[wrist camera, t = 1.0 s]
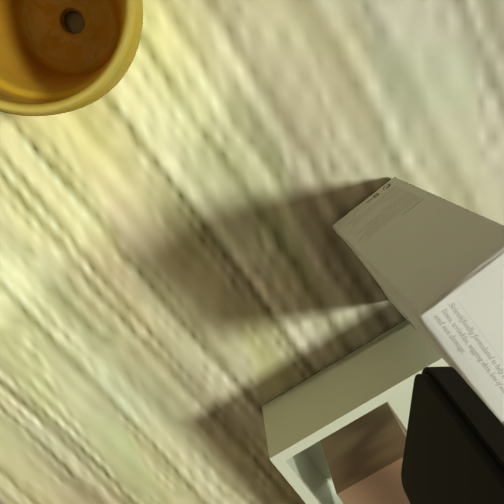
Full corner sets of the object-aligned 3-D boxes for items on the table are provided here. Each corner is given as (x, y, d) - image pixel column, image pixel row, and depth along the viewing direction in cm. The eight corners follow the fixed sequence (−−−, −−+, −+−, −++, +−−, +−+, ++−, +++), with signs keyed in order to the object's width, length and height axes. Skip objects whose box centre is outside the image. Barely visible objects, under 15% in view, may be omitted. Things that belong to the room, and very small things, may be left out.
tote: (474, 278, 37) (521, 311, 31) (540, 400, 41) (591, 449, 35) (261, 406, 39) (269, 459, 34) (343, 509, 43) (362, 572, 38)
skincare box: (329, 224, 35) (405, 313, 21) (397, 171, 34) (524, 226, 20) (392, 304, 37) (499, 432, 23) (457, 256, 36) (609, 359, 22)
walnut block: (379, 389, 39) (413, 451, 32) (413, 439, 41) (451, 507, 34) (316, 426, 39) (336, 494, 33) (352, 474, 41) (377, 547, 35)
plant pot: (177, -41, 29) (159, -104, 20) (140, 129, 32) (109, 143, 23) (-1, -103, 28) (-111, -202, 18) (-23, 82, 30) (-127, 77, 21)
